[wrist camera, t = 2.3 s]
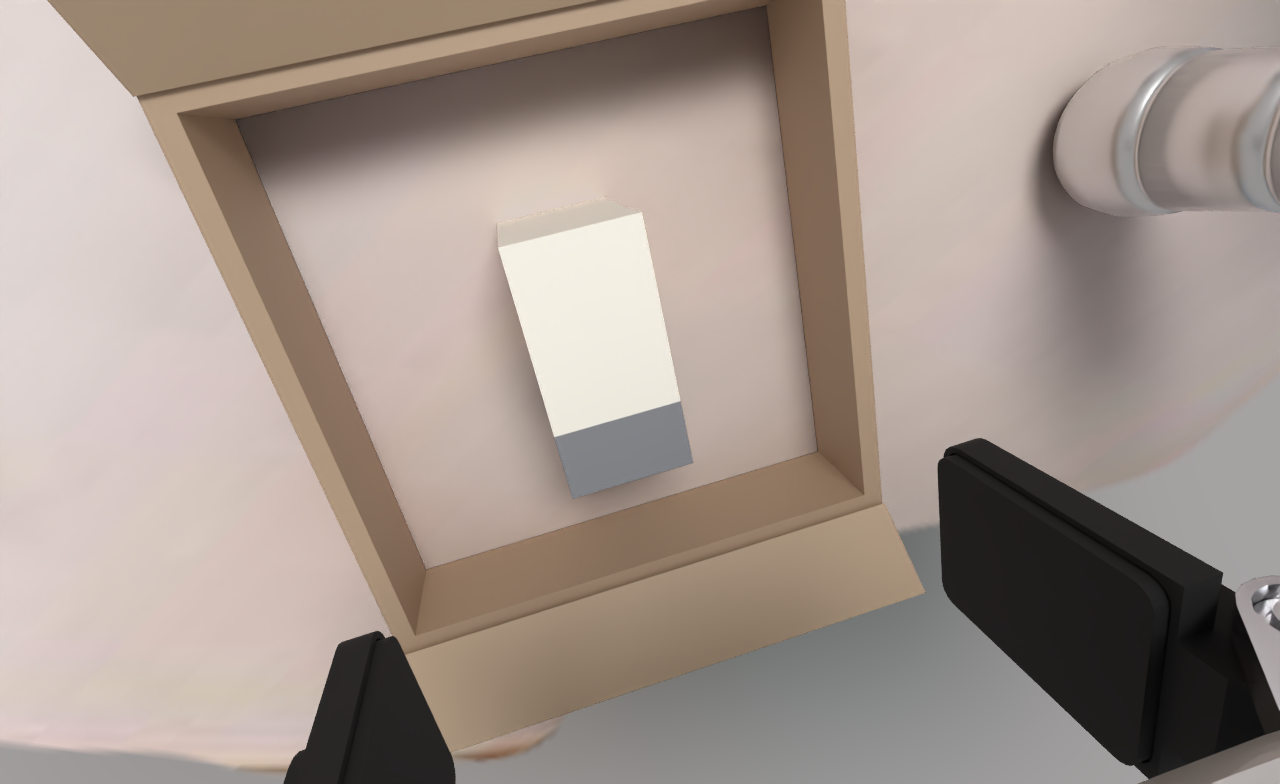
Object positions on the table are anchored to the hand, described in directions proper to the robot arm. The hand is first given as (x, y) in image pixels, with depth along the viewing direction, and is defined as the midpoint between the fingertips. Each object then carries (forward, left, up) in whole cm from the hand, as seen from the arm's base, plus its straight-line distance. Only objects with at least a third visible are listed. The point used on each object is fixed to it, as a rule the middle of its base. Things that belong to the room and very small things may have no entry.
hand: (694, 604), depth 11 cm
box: (0, 0, -19) cm, 19 cm away
